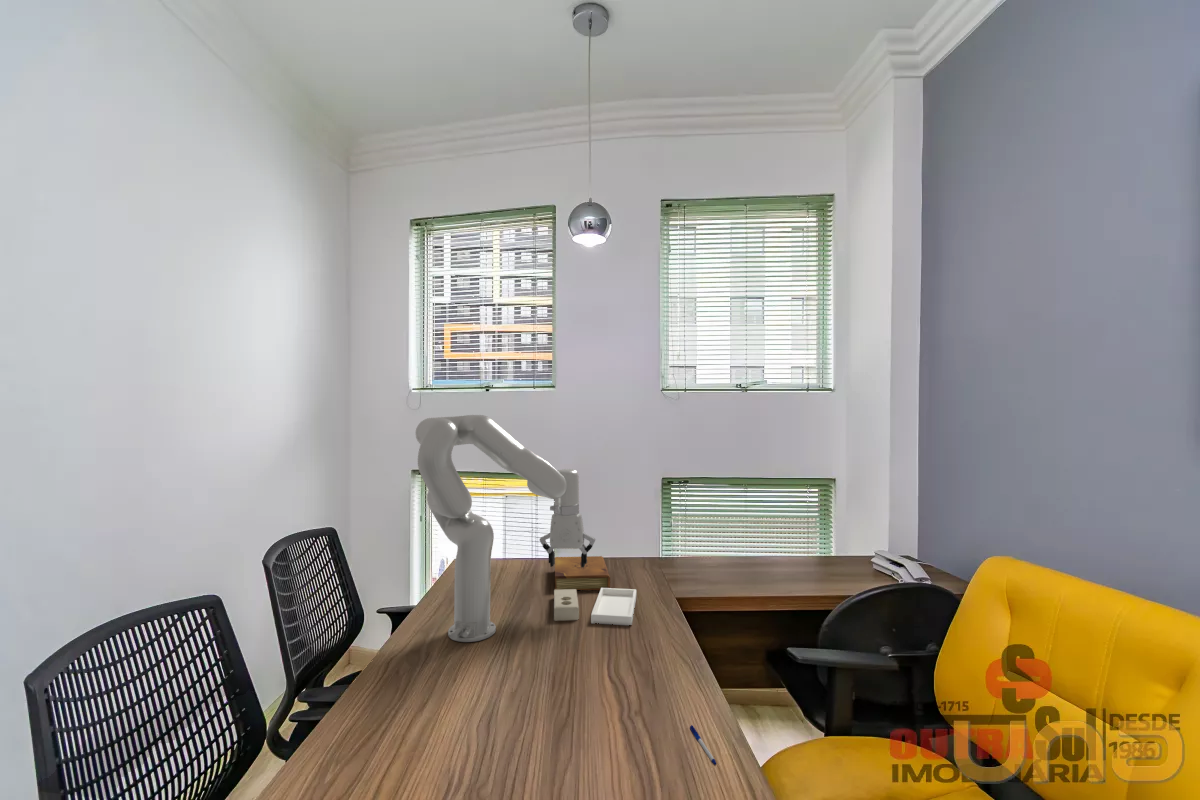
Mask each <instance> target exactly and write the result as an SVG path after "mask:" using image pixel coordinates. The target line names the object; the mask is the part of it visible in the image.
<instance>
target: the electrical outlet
mask: <svg viewBox="0 0 1200 800" xmlns="http://www.w3.org/2000/svg"><path fill="white" fill-rule="evenodd" d="M553 594H554V596H553V597H554V598H553V600H554V601H553V621H554V622H556V621H557V622H559V621H560V622H561V621H579V620H578V619H580V618H579V617H580V616H579V615H580V613H579V611H580V607H579V598H578V591H577V590H576V589H560V590H555V589H554V590H553Z"/></svg>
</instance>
